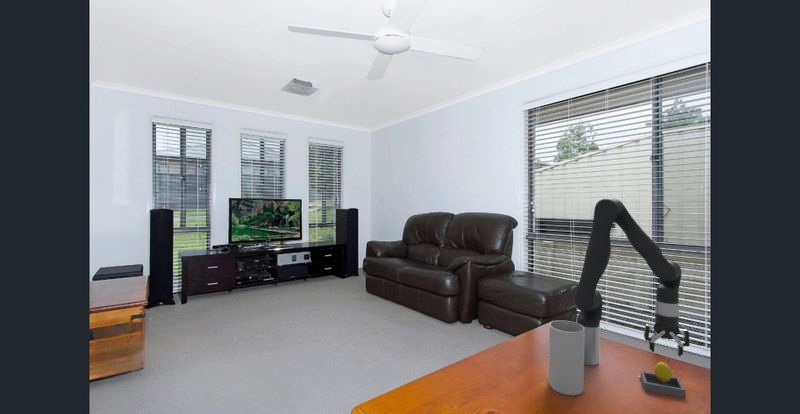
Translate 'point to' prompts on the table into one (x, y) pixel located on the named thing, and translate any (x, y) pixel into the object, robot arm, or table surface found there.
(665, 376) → the lemon
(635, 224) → the robot arm
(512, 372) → the table surface
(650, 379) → the gray open tray
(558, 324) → the cylinder vase
